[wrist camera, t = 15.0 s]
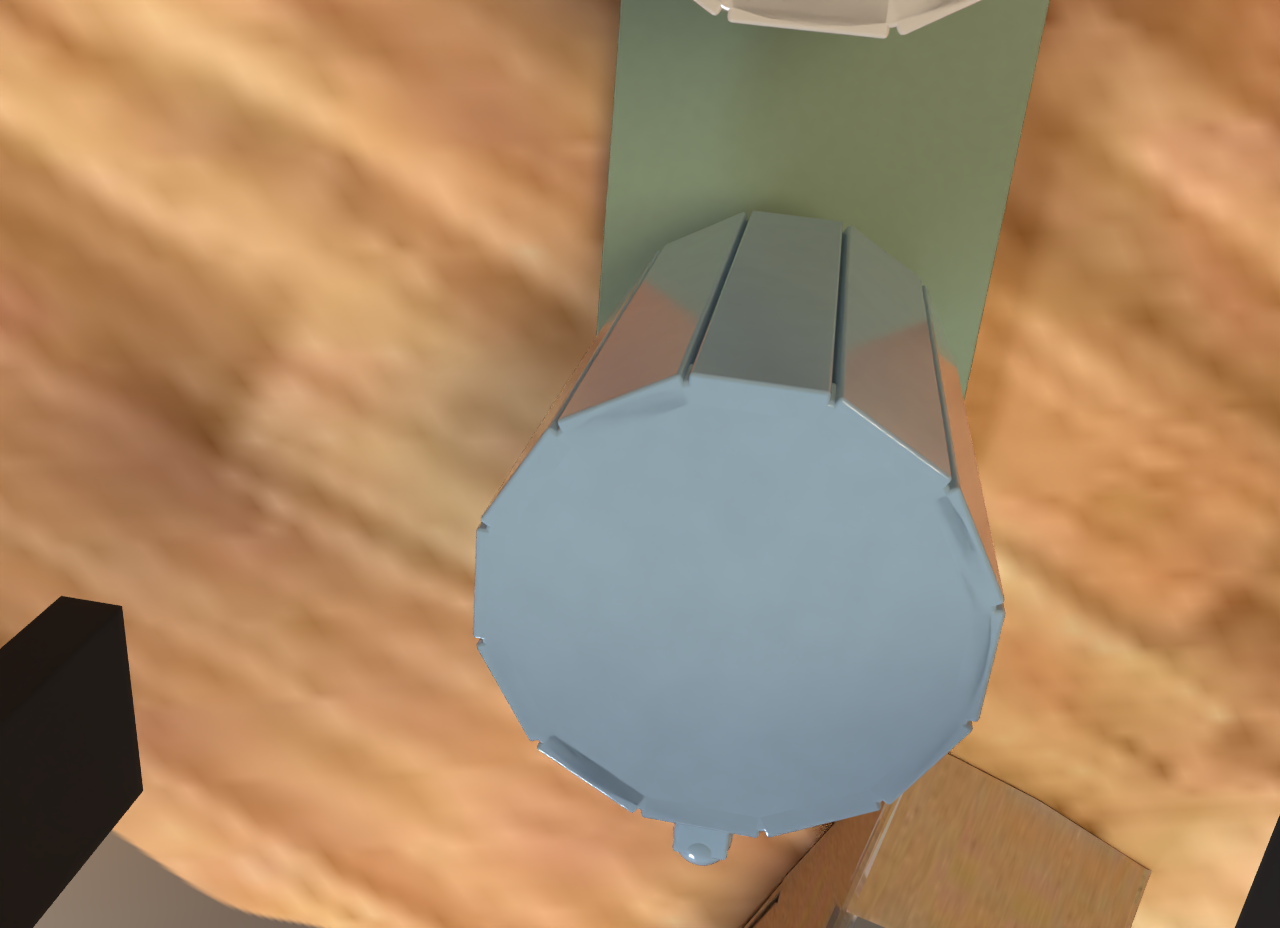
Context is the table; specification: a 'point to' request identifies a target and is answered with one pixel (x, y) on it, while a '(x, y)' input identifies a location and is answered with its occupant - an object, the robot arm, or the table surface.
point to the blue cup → (748, 542)
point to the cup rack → (822, 139)
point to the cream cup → (838, 14)
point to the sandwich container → (958, 865)
